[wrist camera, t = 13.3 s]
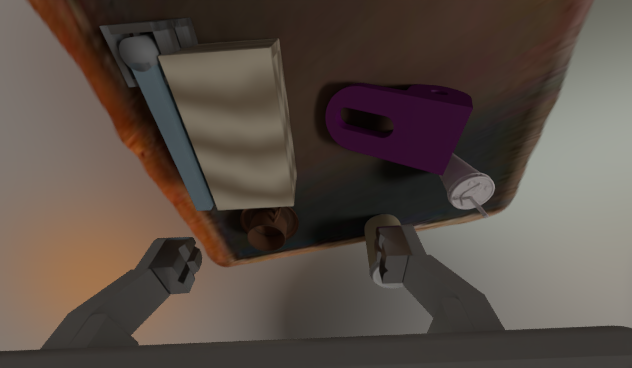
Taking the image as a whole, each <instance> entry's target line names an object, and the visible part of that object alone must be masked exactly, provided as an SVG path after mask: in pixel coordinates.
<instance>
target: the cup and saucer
mask: <svg viewBox="0 0 632 368" xmlns="http://www.w3.org/2000/svg"><path fill="white" fill-rule="evenodd" d="M240 224H241V226H242V228H243V230H244V231H245V232H246V233H247V239H248V242H249V243H250V244H251V245H252V246H253V247H254V248H256V249H259V250H262V251H274V250H277V249H280V248H281V247H282V246H283V245H284V244H285V241H286V240H287V239H289V238H291V237H292V236H293V235H294V234H295V233H296V231H297V230H298V226H299V221H298V217H297V215H296V213H295V212H294V210H293V209H292V208H290V207H289V206H285V207H267V208H248V209H244V210H243V211H242V213H241V216H240Z"/></svg>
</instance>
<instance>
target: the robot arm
mask: <svg viewBox="0 0 632 368" xmlns="http://www.w3.org/2000/svg"><path fill="white" fill-rule="evenodd" d="M375 233H376V237H377V238H376V239H375V242H374V249H375V256H376V261H377V262H378V263H379V273H380V277H381V280H382V284H390V283H403V285H404V286H405V287H406V288H407V290H408V291H409V292H410V293H411V294H412V295H413V296H414V297H415V298H416V299H417V301H418V302H419V303H420V304H421V305H422V306H423V307H424V308H425V309H426V310H427V311H428V312H429V314H430V315H431V316H432V317H433V320H432V323H431V325H430V327H429V330H428V332H427V334H405V335H381V336H380V335H379V336H356V337H331V338H309V339H308V338H307V339H282V340H260V341H236V342H211V343H188V344H165V345H164V344H163V345H140V346H139V344H138V342H137V341H136V340H135V339H134V338H133V337H132V336H131V335H132V334H133V332H134V331H135V330H136V329H137V328H138V327H139V326H140V325H141V324H142V323H143V322H144V321H145V320H146V319H147V318H148V317H149V316H150V315H151V314H152V313H153V312H154V311H155V310H156V309H157V308H158V307H159V306H160V305H161V304H162V303H163V302H164V301H165V300H166V299H167V298H168V297H169V296H170V295H169V294H180V293H189V292H190V290H191V287H192V285H193V283H194V281H195V277H194V274H195V273H196V272H197V271H198V270H199V269H200V266H201V263H202V255H201V251H200V249H198V248H197V247H195V244H196V242H195V240H194V238H193V237H179V238H178V237H177V238H157V239H156V240H154V241H153V243H152V244H151V246H150V248H149V249H148V250H147V252H146V253H145V255H144V256H143V258H142V259H141V261H140V262H139V264H138V265H137V266H136V268H135V269H134V270H130V271H129V272H127V273H126V274H124V275H123V276H121V277H120V278H119V279H117V280H116V281H114V282H113V283H111V284H110V285H108V286H107V287H106V288H104V289H103V290H101V291H100V292H99V293H97V294H96V295H94V296H93V297H91V298H90V299H89V300H87V301H86V302H84V303H83V304H81V305H80V306H78V307H77V308H76V309H74V310H73V311H71V312H70V313H69V314H68V315H67V316H66V317H65V318H64V320H63V321H62V322H61V324H60V325H59V326H58V327H57V329H56V330H55V331H54V332H53V334H52V335H51V336H50V338H49V339H48V340H47V341H46V342H45V344H44V345H43V346H42V348H41V349H40V350H21V351H0V368H632V328H629V327H624V326H596V327H595V326H593V327H570V328H547V329H546V328H545V329H523V330H505V329H504V327H503V326H502V324H501V322H500V321H499V319H498V317H497V315H496V314H495V312H494V310H493V309H492V307H491V305H490V303H489V302H488V300H487V298H486V297H485V295H484V294H482V293H481V292H480V291H478V290H477V289H476V288H474V287H473V286H472V285H470V284H469V283H468V282H466V281H465V280H464V279H462V278H461V277H459V276H458V275H457V274H456V273H454V272H453V271H451V270H450V269H449V268H447V267H446V266H445V265H443V264H442V263H441V262H439V261H438V260H437V259H435V258H434V257H433V256H431V255H427V254H426V252H425V250H424V248H423V246H422V244H421V242H420V239H419V237H418V235H417V233H416V231H415V229H414V226H413V225H400V226H399V225H397V226H381V227H377V228H376V232H375Z"/></svg>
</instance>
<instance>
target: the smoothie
mask: <svg viewBox="0 0 632 368" xmlns="http://www.w3.org/2000/svg"><path fill="white" fill-rule="evenodd" d="M439 176H440V178H441V180H442V182H443V184H444V186H445V188H446V191H447V193H448V199H449V201H450V202H451V203H452V205H453V206H454V207H456V208H459V209H472V208H475V207H476V208H477V209H478V210H479V212H480V213H481V214H482V215H483V217H484V218H487V217H488V215H487V213H486V212H485V211H484V210H483V209H482V207H481V206H480V205H482V204H483V203H485V202H486V201H487V200H488V199H489V198H490V197H491V196H492V194H493V192H494V189H495V185H494V182H493V181H492V180H491V178H490V177H489V176H488V175H486V174H484V173H480V172H478V171H477V170H476V169H474V168H473V167H471V166H470V165H469V164H467V163H466V162H464V161H463V160H462V159H460V158H459V157H457V156H456V155H455V154H452V156H451V158H450V161H449V163H448V165H447V167H446V170H445V172H444V174H443V176H442V175H439Z"/></svg>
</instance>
